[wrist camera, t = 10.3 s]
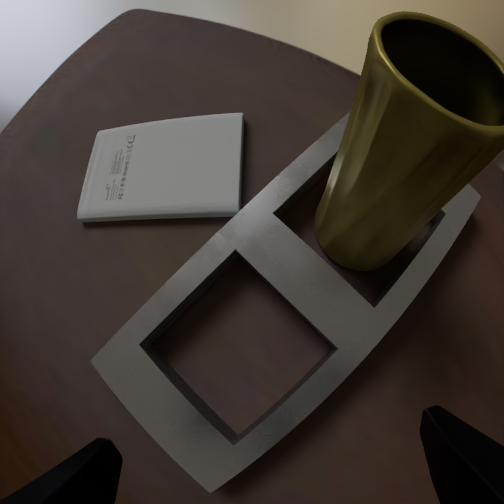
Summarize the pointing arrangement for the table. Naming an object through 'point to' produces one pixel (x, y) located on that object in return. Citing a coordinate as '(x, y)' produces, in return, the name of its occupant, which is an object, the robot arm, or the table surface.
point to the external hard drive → (165, 170)
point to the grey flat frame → (293, 293)
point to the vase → (409, 137)
